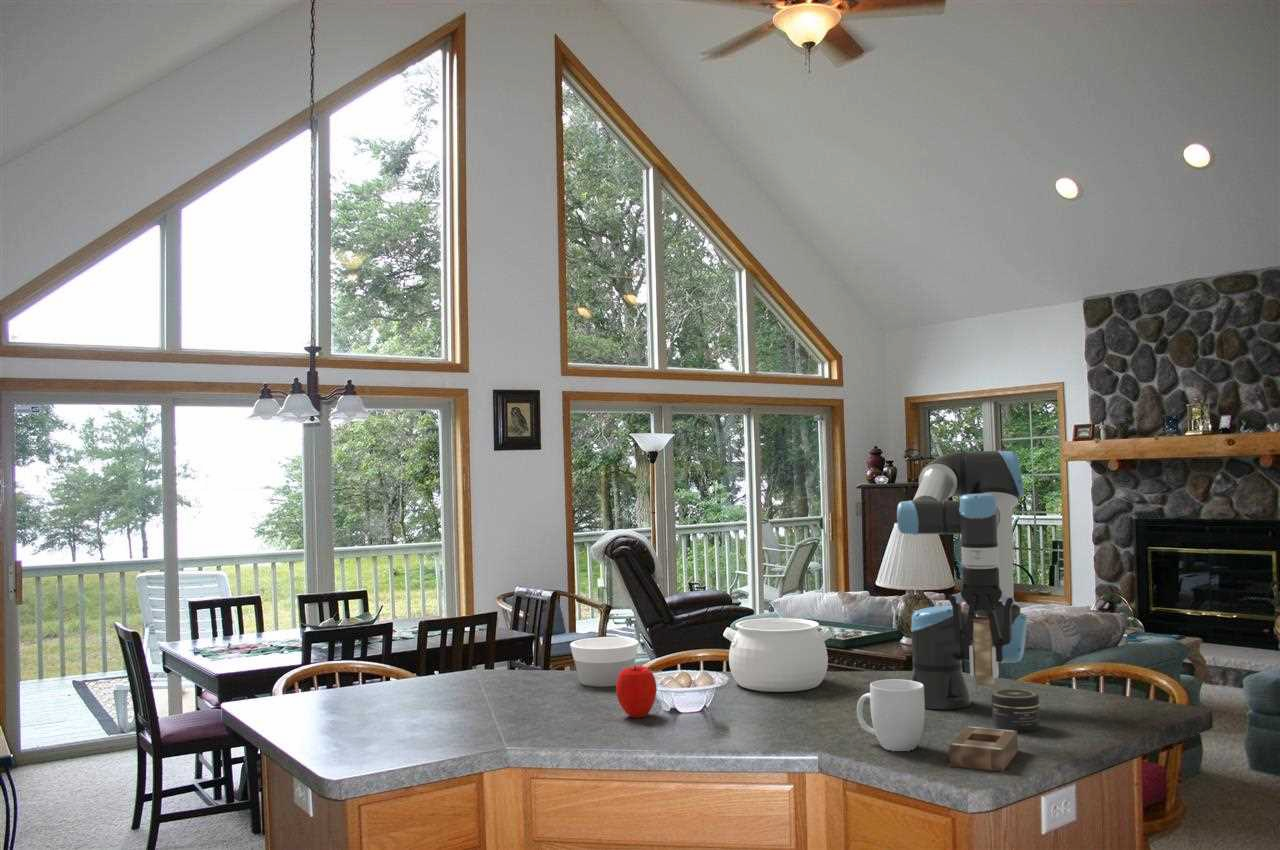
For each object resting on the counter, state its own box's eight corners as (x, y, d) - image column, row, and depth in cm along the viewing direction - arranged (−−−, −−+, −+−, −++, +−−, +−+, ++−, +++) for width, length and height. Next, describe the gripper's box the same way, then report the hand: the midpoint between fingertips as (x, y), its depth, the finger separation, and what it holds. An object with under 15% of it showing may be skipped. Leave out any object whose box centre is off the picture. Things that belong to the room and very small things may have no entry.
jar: (1050, 730, 232) (1048, 695, 232) (1010, 735, 229) (1009, 699, 229) (1021, 720, 242) (1020, 686, 242) (983, 724, 239) (981, 690, 239)
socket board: (949, 765, 208) (949, 744, 208) (967, 745, 222) (966, 725, 222) (1003, 771, 203) (1002, 749, 203) (1017, 750, 217) (1017, 730, 217)
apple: (632, 709, 262) (631, 659, 263) (666, 714, 257) (664, 663, 257) (608, 717, 254) (607, 666, 255) (642, 722, 248) (640, 670, 249)
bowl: (569, 676, 305) (568, 638, 306) (636, 673, 307) (635, 635, 308) (572, 690, 286) (571, 650, 287) (643, 686, 288) (642, 646, 289)
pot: (836, 675, 296) (834, 617, 297) (831, 696, 271) (829, 632, 271) (731, 673, 303) (729, 616, 304) (717, 693, 277) (715, 631, 278)
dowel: (973, 684, 227) (970, 619, 227) (976, 680, 230) (974, 615, 231) (992, 686, 225) (990, 620, 225) (996, 682, 228) (994, 616, 229)
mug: (845, 746, 223) (843, 684, 224) (870, 735, 232) (868, 675, 232) (911, 758, 214) (909, 692, 214) (935, 746, 222) (933, 682, 223)
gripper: (935, 567, 229) (940, 676, 229) (1018, 569, 221) (1023, 682, 220) (944, 563, 235) (948, 669, 235) (1024, 565, 227) (1029, 675, 227)
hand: (984, 675), depth 228 cm, fingers closed on dowel, 4 cm apart
